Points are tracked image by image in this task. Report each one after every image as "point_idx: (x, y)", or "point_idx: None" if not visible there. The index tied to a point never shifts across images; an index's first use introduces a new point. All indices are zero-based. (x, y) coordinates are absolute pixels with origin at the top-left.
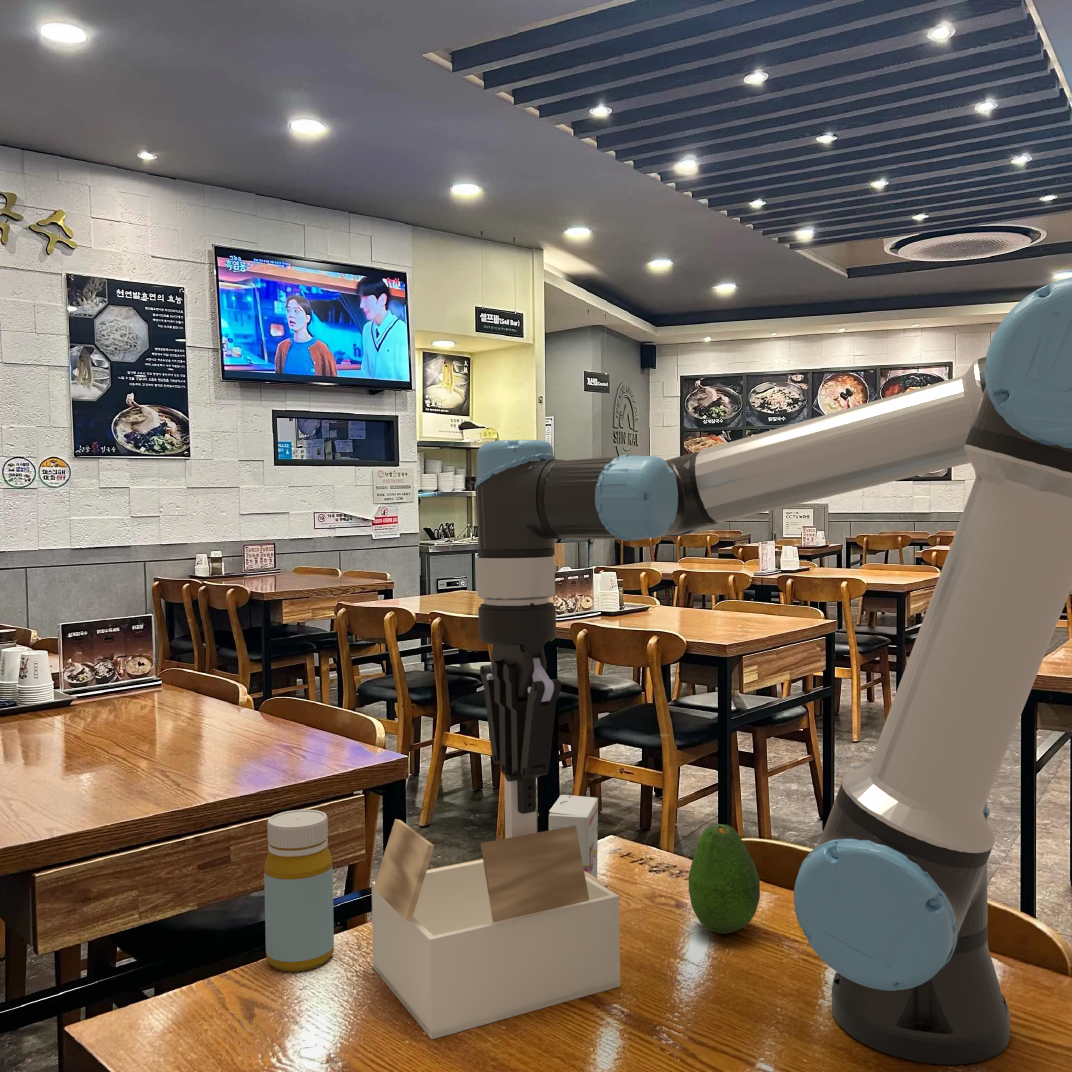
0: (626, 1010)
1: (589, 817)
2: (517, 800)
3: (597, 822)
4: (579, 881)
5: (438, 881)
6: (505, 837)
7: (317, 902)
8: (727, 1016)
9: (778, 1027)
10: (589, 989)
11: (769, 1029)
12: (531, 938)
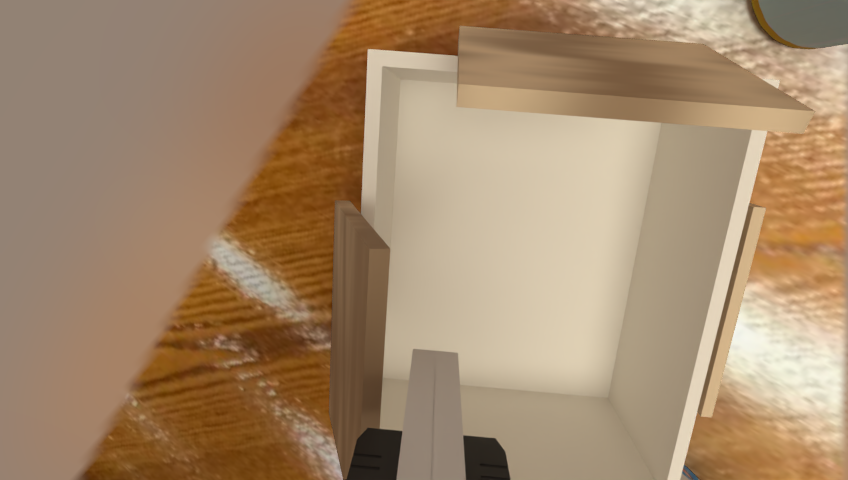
0: (313, 347)
1: None
2: (398, 457)
3: None
4: (335, 424)
5: (707, 249)
6: (457, 360)
7: None
8: (234, 436)
9: (182, 464)
10: None
11: (184, 453)
12: None
